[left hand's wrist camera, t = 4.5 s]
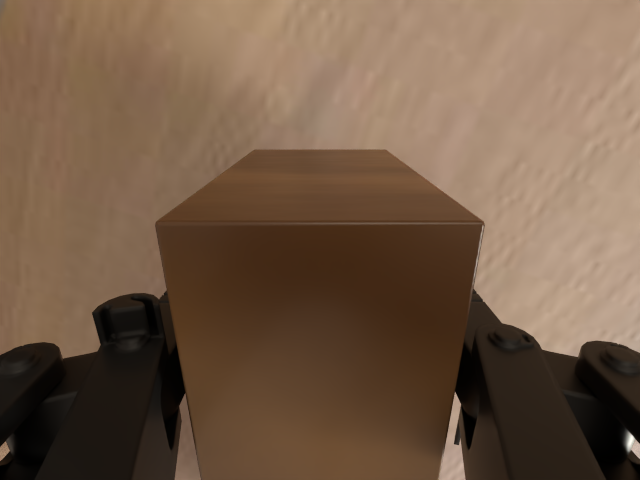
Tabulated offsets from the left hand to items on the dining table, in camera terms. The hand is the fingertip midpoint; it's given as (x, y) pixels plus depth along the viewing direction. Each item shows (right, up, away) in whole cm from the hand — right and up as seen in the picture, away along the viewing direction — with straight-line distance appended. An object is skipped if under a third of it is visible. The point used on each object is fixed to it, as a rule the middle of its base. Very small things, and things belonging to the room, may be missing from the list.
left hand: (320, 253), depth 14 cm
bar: (0, -7, +3) cm, 8 cm away
